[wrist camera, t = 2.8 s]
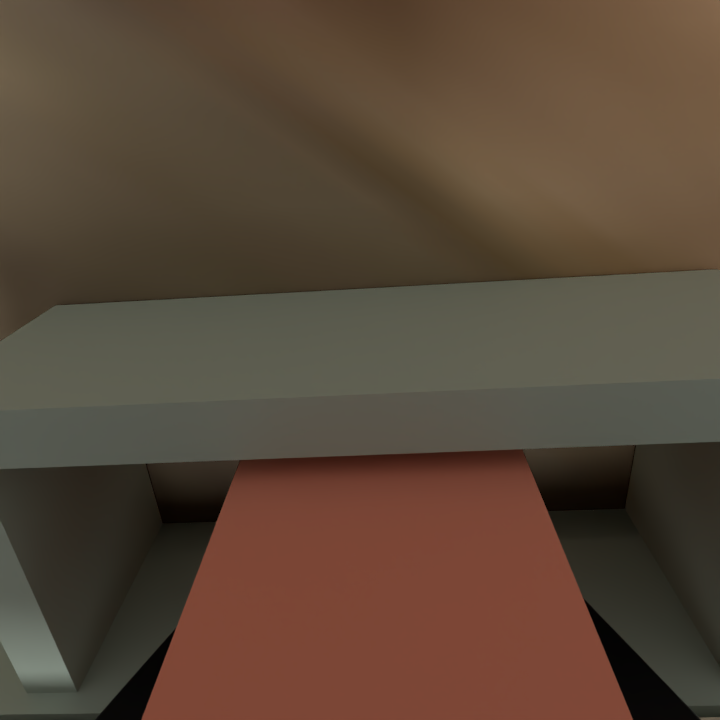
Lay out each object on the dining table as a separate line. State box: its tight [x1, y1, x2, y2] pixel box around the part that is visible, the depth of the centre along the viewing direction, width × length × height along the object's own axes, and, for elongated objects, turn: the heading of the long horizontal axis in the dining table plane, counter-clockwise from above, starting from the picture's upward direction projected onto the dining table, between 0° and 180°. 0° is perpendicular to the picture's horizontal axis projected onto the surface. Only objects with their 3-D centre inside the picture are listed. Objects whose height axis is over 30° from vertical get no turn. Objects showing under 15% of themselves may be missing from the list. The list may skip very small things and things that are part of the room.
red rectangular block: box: [141, 449, 633, 720], centre depth 9 cm, size 4×4×9 cm
